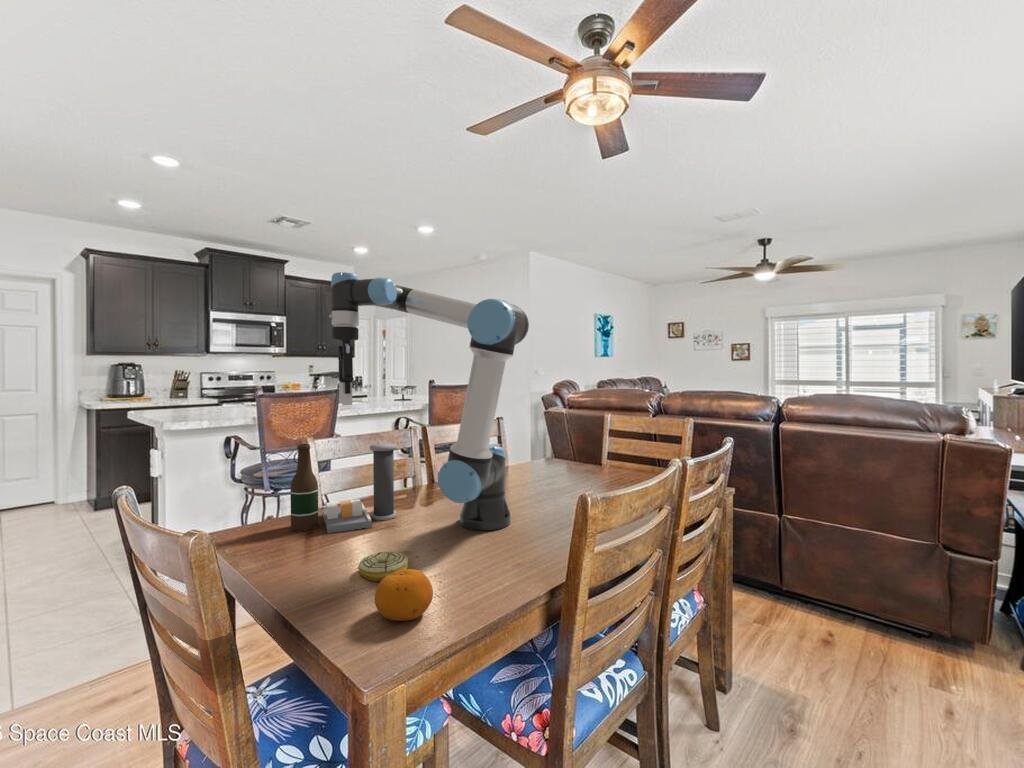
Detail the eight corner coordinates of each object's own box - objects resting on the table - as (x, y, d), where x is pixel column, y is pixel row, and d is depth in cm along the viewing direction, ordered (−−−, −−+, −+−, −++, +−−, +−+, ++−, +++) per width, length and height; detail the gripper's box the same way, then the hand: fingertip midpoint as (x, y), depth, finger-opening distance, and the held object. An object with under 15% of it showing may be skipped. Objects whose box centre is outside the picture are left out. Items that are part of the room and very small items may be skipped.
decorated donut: (380, 561, 116) (380, 545, 116) (417, 569, 111) (417, 553, 111) (348, 578, 106) (348, 561, 106) (387, 588, 102) (387, 570, 102)
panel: (371, 527, 139) (371, 518, 139) (327, 533, 134) (327, 524, 133) (362, 510, 155) (362, 502, 155) (322, 515, 150) (322, 506, 150)
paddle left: (337, 518, 141) (337, 506, 141) (327, 519, 140) (327, 507, 140) (336, 513, 145) (336, 501, 145) (326, 514, 144) (326, 502, 144)
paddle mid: (352, 516, 143) (352, 504, 142) (342, 517, 141) (342, 505, 141) (350, 511, 147) (350, 500, 147) (340, 512, 146) (340, 501, 146)
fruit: (393, 598, 97) (393, 558, 97) (441, 605, 94) (441, 565, 94) (363, 624, 87) (362, 581, 87) (415, 634, 84) (415, 589, 84)
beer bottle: (285, 527, 138) (284, 444, 137) (311, 521, 144) (311, 441, 143) (296, 534, 133) (295, 447, 132) (324, 527, 139) (323, 444, 138)
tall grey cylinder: (399, 518, 147) (399, 446, 146) (372, 522, 144) (372, 448, 143) (394, 511, 154) (393, 442, 153) (368, 514, 151) (368, 444, 150)
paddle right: (362, 515, 144) (362, 503, 144) (352, 516, 143) (352, 504, 142) (359, 510, 148) (359, 499, 148) (350, 511, 147) (350, 500, 147)
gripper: (328, 328, 150) (329, 401, 151) (334, 323, 131) (335, 407, 132) (353, 329, 153) (354, 401, 154) (363, 324, 134) (363, 406, 135)
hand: (345, 403), depth 143 cm, fingers open, 8 cm apart
